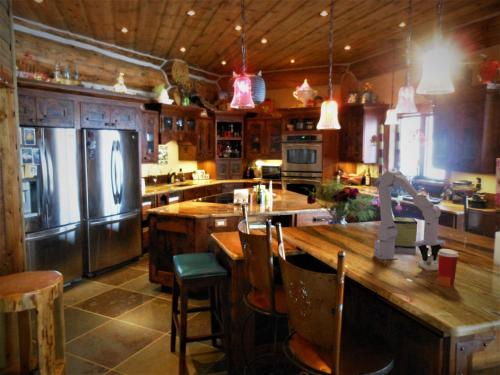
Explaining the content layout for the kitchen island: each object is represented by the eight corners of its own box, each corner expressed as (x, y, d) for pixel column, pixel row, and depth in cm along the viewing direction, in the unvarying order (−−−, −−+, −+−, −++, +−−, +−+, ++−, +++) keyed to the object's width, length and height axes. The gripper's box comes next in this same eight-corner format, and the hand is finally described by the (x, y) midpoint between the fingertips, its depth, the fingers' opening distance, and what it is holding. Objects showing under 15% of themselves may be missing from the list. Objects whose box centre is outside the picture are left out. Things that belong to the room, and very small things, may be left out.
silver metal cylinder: (427, 267, 177) (428, 256, 176) (422, 264, 181) (422, 253, 180) (435, 266, 177) (435, 256, 177) (429, 263, 181) (430, 253, 181)
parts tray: (427, 270, 175) (427, 265, 175) (418, 265, 182) (418, 261, 182) (451, 269, 177) (451, 264, 177) (441, 264, 184) (441, 260, 184)
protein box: (416, 249, 211) (417, 221, 210) (386, 247, 214) (388, 220, 213) (412, 244, 221) (413, 217, 220) (384, 242, 225) (385, 216, 223)
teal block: (429, 264, 184) (430, 254, 184) (424, 261, 188) (425, 252, 188) (437, 264, 185) (437, 254, 185) (432, 261, 189) (432, 251, 188)
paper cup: (450, 281, 162) (452, 248, 160) (460, 287, 154) (462, 253, 153) (431, 281, 162) (433, 248, 160) (441, 287, 154) (443, 253, 152)
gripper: (421, 234, 172) (419, 264, 173) (450, 233, 174) (448, 262, 176) (412, 231, 179) (410, 259, 180) (440, 230, 181) (438, 258, 183)
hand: (428, 260), depth 179 cm, fingers closed on silver metal cylinder, 4 cm apart
